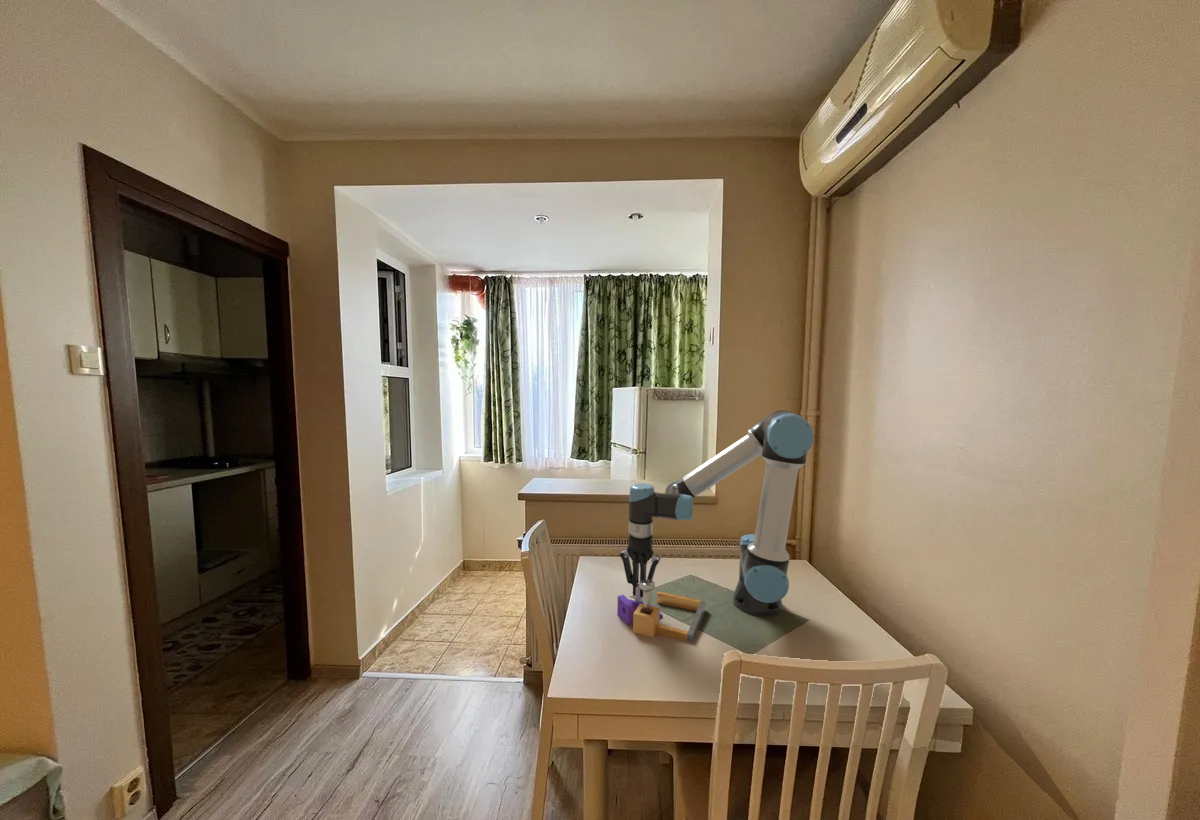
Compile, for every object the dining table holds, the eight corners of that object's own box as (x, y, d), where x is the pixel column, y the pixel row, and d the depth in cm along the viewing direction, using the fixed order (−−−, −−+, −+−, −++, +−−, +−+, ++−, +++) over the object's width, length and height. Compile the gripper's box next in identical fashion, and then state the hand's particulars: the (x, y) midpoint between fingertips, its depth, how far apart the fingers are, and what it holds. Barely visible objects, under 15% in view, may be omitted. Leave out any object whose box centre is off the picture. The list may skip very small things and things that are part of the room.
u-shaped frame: (705, 611, 138) (706, 601, 138) (692, 647, 120) (692, 635, 120) (658, 601, 145) (658, 591, 144) (638, 634, 126) (638, 622, 126)
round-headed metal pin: (656, 611, 127) (656, 581, 126) (651, 619, 123) (652, 588, 122) (641, 608, 129) (642, 578, 128) (636, 616, 125) (637, 585, 124)
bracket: (628, 629, 129) (628, 607, 128) (617, 617, 135) (617, 596, 134) (662, 619, 134) (662, 598, 133) (650, 608, 140) (650, 588, 139)
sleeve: (659, 630, 128) (659, 607, 127) (653, 642, 123) (653, 618, 122) (639, 625, 130) (640, 603, 130) (633, 636, 125) (633, 613, 124)
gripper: (616, 534, 135) (615, 606, 138) (656, 541, 130) (654, 616, 133) (625, 526, 142) (624, 595, 145) (663, 533, 137) (661, 604, 139)
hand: (638, 605), depth 139 cm, fingers closed
